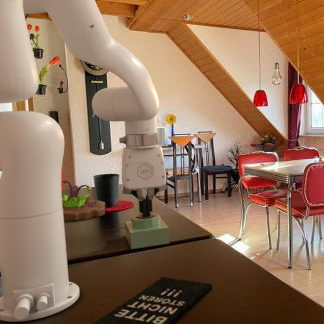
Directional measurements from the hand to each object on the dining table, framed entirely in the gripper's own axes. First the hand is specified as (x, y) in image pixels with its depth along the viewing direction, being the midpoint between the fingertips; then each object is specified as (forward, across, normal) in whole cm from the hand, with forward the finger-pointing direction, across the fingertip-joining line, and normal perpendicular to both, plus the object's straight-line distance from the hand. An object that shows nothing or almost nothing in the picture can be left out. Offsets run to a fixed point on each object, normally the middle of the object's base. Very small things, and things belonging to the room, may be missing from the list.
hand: (146, 214), depth 96 cm
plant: (+7, -17, +39) cm, 43 cm away
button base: (+6, 0, 0) cm, 6 cm away
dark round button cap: (+2, 0, 0) cm, 2 cm away
